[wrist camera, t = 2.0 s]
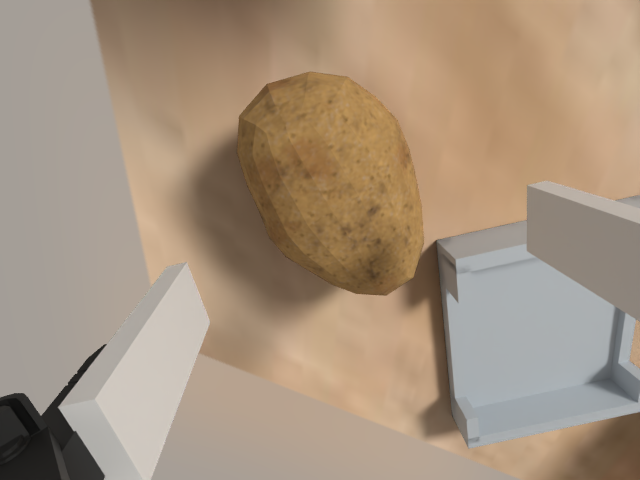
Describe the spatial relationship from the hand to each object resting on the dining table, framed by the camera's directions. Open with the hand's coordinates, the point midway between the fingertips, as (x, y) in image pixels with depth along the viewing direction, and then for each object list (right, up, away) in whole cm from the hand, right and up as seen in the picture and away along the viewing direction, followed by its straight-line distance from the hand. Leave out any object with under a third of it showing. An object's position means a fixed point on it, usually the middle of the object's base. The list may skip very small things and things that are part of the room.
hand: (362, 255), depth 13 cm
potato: (-1, +5, +12) cm, 13 cm away
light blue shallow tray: (+17, -6, +17) cm, 25 cm away
